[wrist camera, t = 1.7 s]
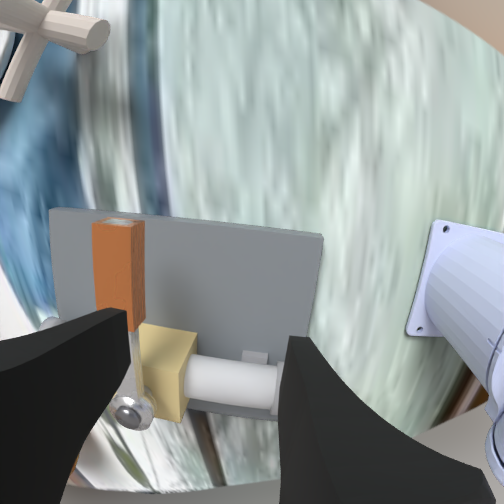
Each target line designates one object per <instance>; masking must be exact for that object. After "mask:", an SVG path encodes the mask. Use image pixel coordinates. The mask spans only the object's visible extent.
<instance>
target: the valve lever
mask: <svg viewBox="0 0 504 504" xmlns="http://www.w3.org/2000/svg"><path fill="white" fill-rule="evenodd" d="M92 255H93V273H94V287H95V298H96V308H97V311H98V310H101V309H105V308H109V307H112V308H117V309H122V310H127V323H128V335H129V345H130V355H131V364H130V366H129V368H128V371H127V373H126V375H125V377H124V379H123V381H122V383H121V385H120V387H119V388H118V390H117V393H116V395H115V396H114V398H113V399H112V401H111V402H110V405H109V409H110V412H111V414H112V415H113V417H114V418H115V419H116V420H117V421H118V422H119V423H120V424H121V425H122V426H124V427H126V428H129V429H133V430H138V431H141V430H146V429H147V428H149V426H150V424H151V422H152V420H153V418H154V416H155V414H156V412H157V403H156V401H155V399H154V398H153V396H152V395H151V394H150V393H148V392H147V391H146V390H144V383H143V374H142V364H141V353H140V341H139V326H140V325H141V323H142V322H143V321H144V320H145V318H146V307H145V221H144V220H134V219H124V218H114V217H107V218H104V219H101V220H99V221H96V222H93V223H92Z"/></svg>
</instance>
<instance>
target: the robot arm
mask: <svg viewBox="0 0 504 504" xmlns="http://www.w3.org/2000/svg"><path fill="white" fill-rule="evenodd" d="M444 226H447V230H446V231H445V232H443V228H444ZM418 327H421V328H420V330H418V331H417V328H418ZM406 332H407V333H408V334H409V335H411V336H433V337H445V338H446V339H447V341H448V342H449V343H450V344H451V346H452V347H453V348H454V349H455V351H456V352H457V353H458V354H459V356H460V357H461V358H462V359H463V361H464V362H465V363H466V364H467V366H468V367H469V368H470V370H471V371H472V372H473V374H474V375H475V376H476V378H477V379H478V380H479V381H480V383H481V384H482V386H483V387H484V388H485V390H486V391H487V392H488V394H489V399H488V402H487V404H486V406H485V411H486V412H487V414H488V415H489V417H490V418H491V420H492V421H493V423H494V424H493V425H492V427H491V428H490V430H489V432H488V434H487V437H486V442H485V452H486V458H487V461H488V464H489V467H490V468H491V470H492V472H493V474H494V476H495V477H496V478H497V480H498V481H499V482H500V483H501V485H502V486H503V487H504V233H500V232H496V231H491V230H487V229H482V228H478V227H473V226H468V225H464V224H459V223H454V222H449V221H444V220H435V221H434V222H433V223H432V226H431V230H430V235H429V240H428V245H427V250H426V254H425V259H424V263H423V267H422V271H421V275H420V279H419V283H418V287H417V291H416V295H415V298H414V302H413V305H412V309H411V312H410V315H409V319H408V322H407V325H406ZM130 364H131V355H130V345H129V335H128V323H127V310H122V309H117V308H112V307H109V308H105V309H101V310H98V311H95V312H92V313H89V314H87V315H84V316H81V317H78V318H76V319H73V320H70V321H68V322H65V323H62V324H59V325H56V326H53V327H50V328H47V329H44V330H41V331H38V332H35V333H32V334H28V335H24V336H21V337H16V338H12V339H7V340H2V341H0V504H60V501H61V498H62V495H63V492H64V489H65V486H66V483H67V480H68V478H69V475H70V473H71V470H72V468H73V465H74V463H75V461H76V459H77V456H78V454H79V452H80V450H81V448H82V446H83V443H84V441H85V440H86V438H87V436H88V434H89V433H90V431H91V429H92V428H93V426H94V425H95V423H96V422H97V420H98V419H99V417H100V416H101V414H102V413H103V411H104V410H105V408H106V407H107V405H108V404H109V402H110V401H111V399H112V398H113V396H114V395H115V393H116V392H117V390H118V388H119V387H120V385H121V383H122V381H123V379H124V377H125V375H126V373H127V371H128V368H129V366H130ZM278 430H279V448H280V466H281V488H280V502H279V504H496V499H495V497H494V495H493V493H492V490H491V488H490V486H489V484H488V482H487V480H486V478H485V476H484V474H483V472H482V470H481V469H478V468H476V467H473V466H470V465H467V464H465V463H462V462H459V461H457V460H454V459H452V458H449V457H447V456H444V455H442V454H440V453H438V452H436V451H434V450H432V449H430V448H428V447H426V446H424V445H422V444H421V443H419V442H417V441H415V440H414V439H412V438H410V437H409V436H407V435H406V434H404V433H403V432H401V431H400V430H398V429H397V428H395V427H394V426H392V425H391V424H389V423H388V422H387V421H385V420H384V419H383V418H381V417H380V416H379V415H378V414H377V413H375V412H374V411H373V410H372V409H371V408H370V407H368V406H367V405H366V404H365V403H364V402H363V401H362V400H361V399H360V398H358V397H357V396H356V394H355V393H354V392H353V391H352V390H351V389H350V388H349V387H348V386H347V385H346V384H345V383H344V382H343V381H342V379H341V378H340V377H339V376H338V375H337V373H336V372H335V371H334V370H333V369H332V367H331V366H330V365H329V363H328V362H327V361H326V359H325V358H324V357H323V355H322V354H321V353H320V351H319V350H318V348H317V347H316V346H315V344H314V343H313V341H312V340H311V339H310V337H300V336H291V335H289V340H288V346H287V351H286V356H285V362H284V367H283V372H282V377H281V382H280V388H279V402H278Z"/></svg>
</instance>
